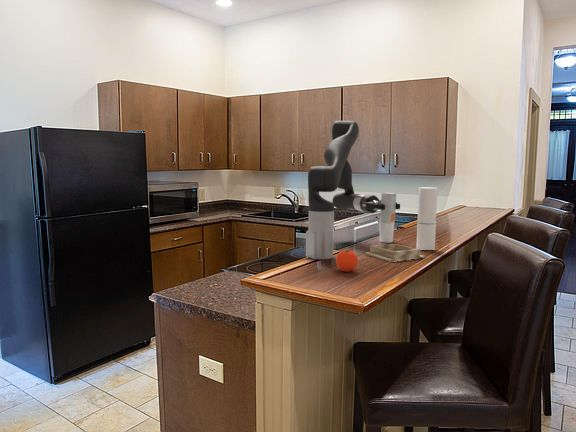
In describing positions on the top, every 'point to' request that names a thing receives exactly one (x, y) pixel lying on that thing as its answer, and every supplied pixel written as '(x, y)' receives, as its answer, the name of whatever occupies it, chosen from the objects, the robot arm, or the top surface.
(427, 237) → the cylindrical container
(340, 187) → the robot arm
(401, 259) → the tray
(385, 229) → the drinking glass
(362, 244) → the top surface
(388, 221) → the skincare box
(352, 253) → the clementine
